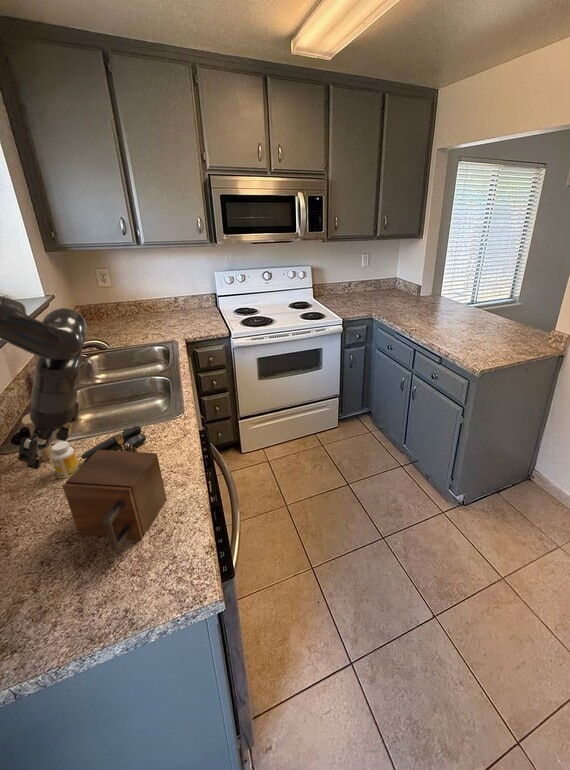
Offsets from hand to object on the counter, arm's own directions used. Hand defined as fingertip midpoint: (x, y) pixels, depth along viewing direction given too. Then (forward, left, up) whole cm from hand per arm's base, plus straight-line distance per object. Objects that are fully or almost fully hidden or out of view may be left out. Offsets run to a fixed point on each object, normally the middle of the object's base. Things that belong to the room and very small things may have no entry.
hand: (48, 452), depth 80 cm
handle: (-25, +22, -22) cm, 40 cm away
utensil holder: (+4, +19, -22) cm, 29 cm away
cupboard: (+12, +4, -22) cm, 25 cm away
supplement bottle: (-14, +17, -22) cm, 31 cm away
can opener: (-7, +27, -22) cm, 35 cm away
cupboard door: (+12, -5, -22) cm, 25 cm away
